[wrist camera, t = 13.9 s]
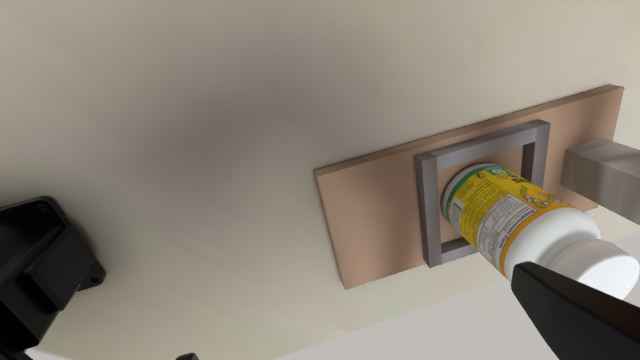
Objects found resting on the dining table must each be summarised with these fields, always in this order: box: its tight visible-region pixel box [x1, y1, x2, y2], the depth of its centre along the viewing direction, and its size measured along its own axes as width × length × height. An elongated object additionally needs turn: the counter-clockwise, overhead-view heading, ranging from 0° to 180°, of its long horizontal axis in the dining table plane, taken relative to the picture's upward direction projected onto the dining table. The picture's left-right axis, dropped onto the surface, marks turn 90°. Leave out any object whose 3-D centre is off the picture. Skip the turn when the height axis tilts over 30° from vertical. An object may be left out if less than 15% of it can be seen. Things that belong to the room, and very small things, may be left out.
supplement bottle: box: [442, 163, 640, 300], centre depth 19 cm, size 5×5×10 cm
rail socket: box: [314, 85, 640, 290], centre depth 22 cm, size 22×10×7 cm, turn 102°
